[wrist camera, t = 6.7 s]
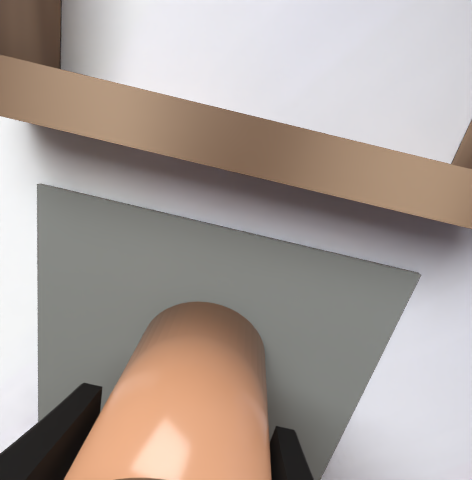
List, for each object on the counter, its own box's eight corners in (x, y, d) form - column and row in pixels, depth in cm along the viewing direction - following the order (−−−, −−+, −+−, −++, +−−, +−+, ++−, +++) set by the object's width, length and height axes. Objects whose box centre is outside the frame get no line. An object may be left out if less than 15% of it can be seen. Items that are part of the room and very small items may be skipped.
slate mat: (418, 272, 11) (421, 275, 11) (315, 482, 15) (316, 487, 15) (41, 183, 10) (37, 184, 10) (41, 421, 14) (38, 425, 14)
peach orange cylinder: (280, 318, 11) (307, 511, 6) (248, 412, 13) (243, 631, 7) (149, 288, 11) (39, 454, 5) (135, 387, 13) (41, 590, 7)
